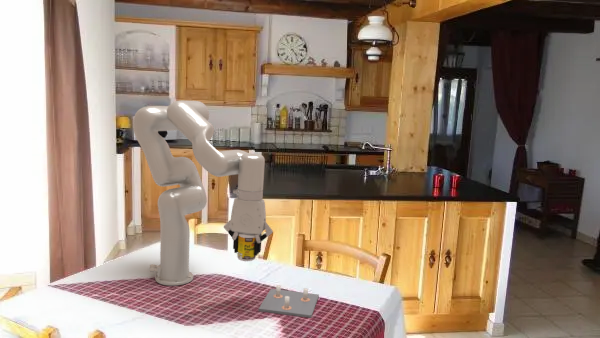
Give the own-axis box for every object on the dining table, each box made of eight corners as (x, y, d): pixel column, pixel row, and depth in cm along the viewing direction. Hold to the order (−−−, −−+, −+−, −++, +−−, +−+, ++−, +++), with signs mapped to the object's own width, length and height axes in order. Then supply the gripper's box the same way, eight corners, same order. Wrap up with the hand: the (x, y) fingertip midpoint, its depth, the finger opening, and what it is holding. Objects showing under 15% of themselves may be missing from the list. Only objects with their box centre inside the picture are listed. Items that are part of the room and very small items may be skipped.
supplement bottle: (242, 263, 148) (244, 229, 147) (234, 257, 153) (235, 224, 151) (258, 260, 151) (260, 228, 150) (250, 254, 156) (252, 223, 154)
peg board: (258, 311, 149) (259, 297, 149) (270, 291, 165) (271, 278, 164) (311, 317, 146) (311, 304, 146) (318, 296, 162) (319, 284, 161)
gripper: (218, 194, 147) (215, 253, 150) (275, 200, 144) (271, 260, 147) (226, 189, 154) (223, 245, 157) (280, 195, 151) (276, 252, 154)
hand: (246, 252), depth 152 cm, fingers closed on supplement bottle, 5 cm apart
